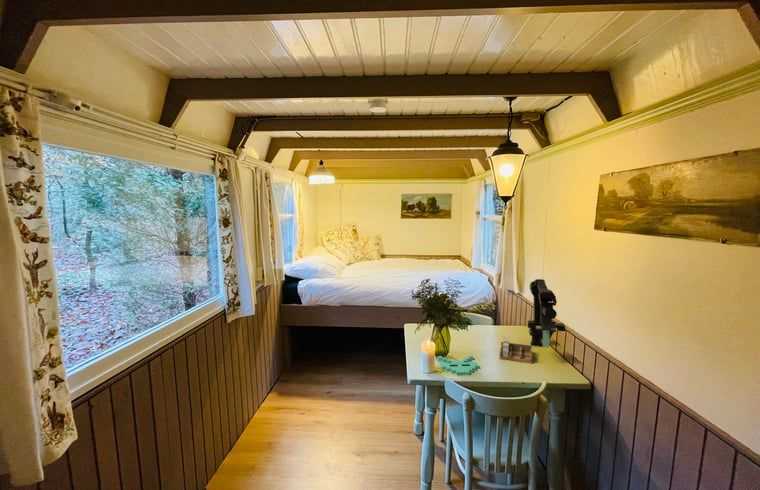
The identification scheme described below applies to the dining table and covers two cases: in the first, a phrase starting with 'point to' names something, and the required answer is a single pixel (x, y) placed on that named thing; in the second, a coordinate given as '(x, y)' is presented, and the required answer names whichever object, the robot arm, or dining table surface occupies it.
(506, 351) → the book rack
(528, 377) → the dining table surface
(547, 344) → the green book
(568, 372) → the dining table surface
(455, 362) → the alien figure
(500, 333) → the dining table surface
